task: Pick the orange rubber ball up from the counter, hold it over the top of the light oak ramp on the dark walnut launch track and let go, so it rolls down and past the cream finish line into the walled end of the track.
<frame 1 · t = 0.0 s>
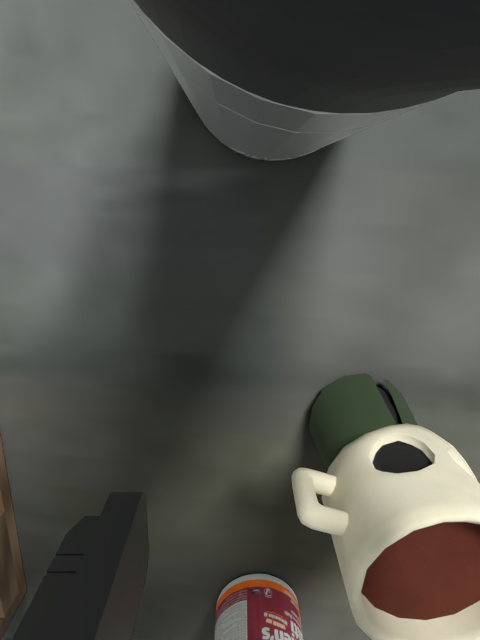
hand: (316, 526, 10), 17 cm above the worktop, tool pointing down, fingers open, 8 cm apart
pill bottle: (256, 599, 34), on the worktop
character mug: (354, 412, 29), on the worktop
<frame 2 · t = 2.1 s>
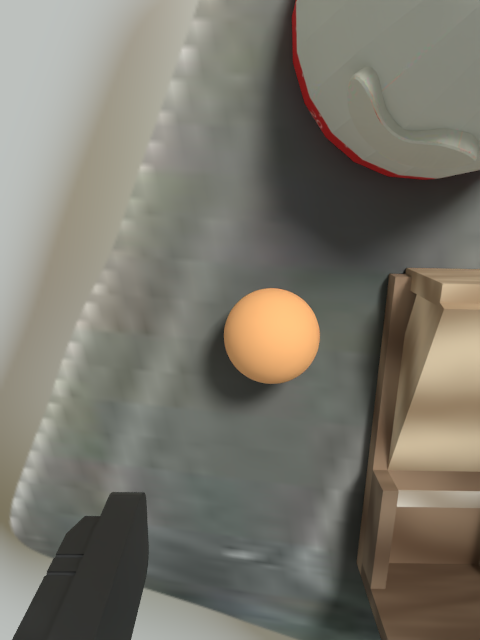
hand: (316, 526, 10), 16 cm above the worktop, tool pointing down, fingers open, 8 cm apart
launch track: (440, 433, 28), on the worktop
kitchen timer: (430, 33, 22), on the worktop
ball: (271, 335, 23), point 2 cm above the worktop
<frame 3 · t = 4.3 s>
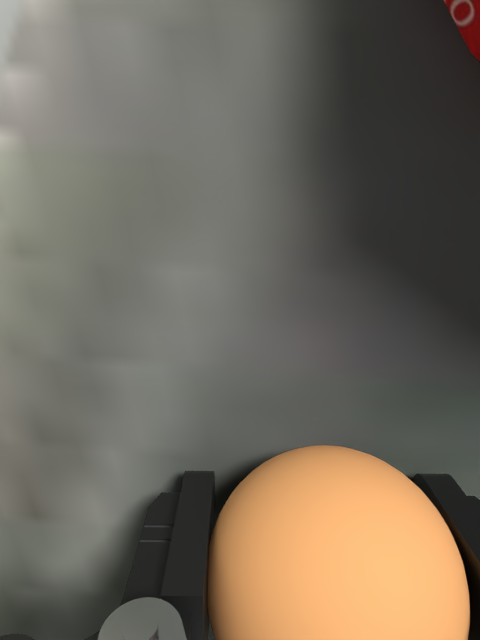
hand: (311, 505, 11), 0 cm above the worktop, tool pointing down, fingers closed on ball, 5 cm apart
ball: (329, 574, 9), point 2 cm above the worktop, touching gripper
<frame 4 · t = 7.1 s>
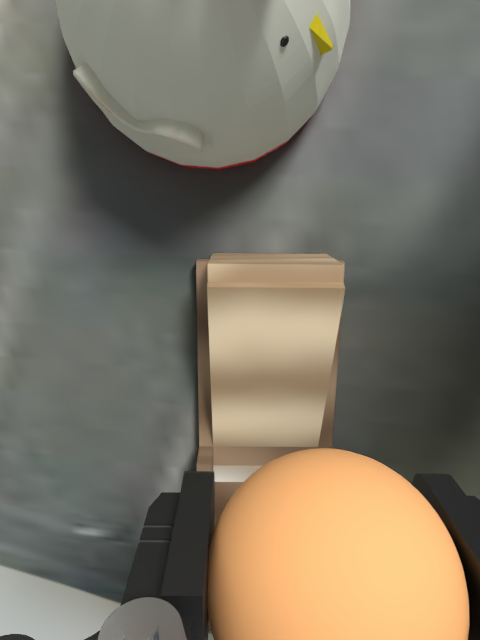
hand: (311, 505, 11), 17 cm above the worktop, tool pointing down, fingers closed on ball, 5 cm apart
launch track: (265, 411, 29), on the worktop
kitchen timer: (209, 33, 24), on the worktop
ball: (329, 577, 9), point 19 cm above the worktop, touching gripper
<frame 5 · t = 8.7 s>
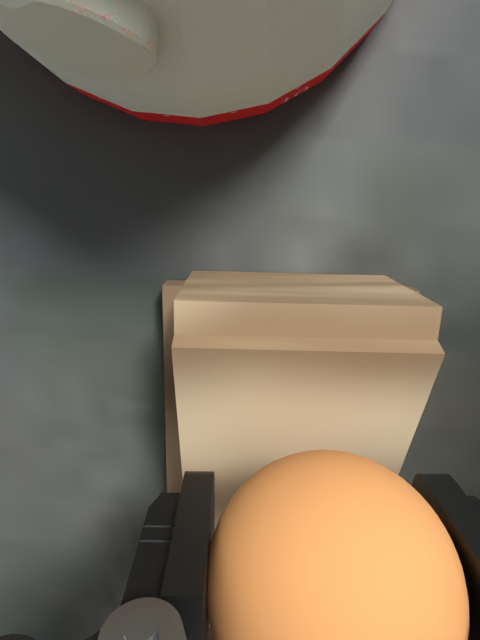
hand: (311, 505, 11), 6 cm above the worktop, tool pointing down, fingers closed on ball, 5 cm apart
launch track: (275, 519, 18), on the worktop
ball: (329, 579, 9), point 8 cm above the worktop, touching gripper
when the fingers open (5 cm above the worktop, at t = 9.7 s): ball drops 4 cm and tips over, resting on launch track.
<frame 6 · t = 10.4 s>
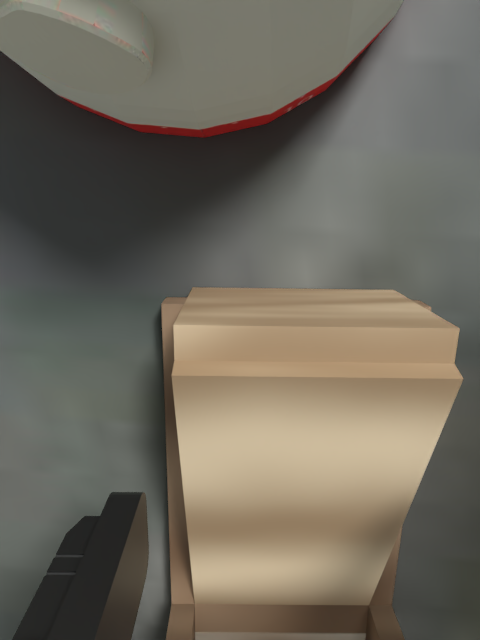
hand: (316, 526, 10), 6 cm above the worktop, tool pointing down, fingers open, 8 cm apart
launch track: (281, 542, 18), on the worktop
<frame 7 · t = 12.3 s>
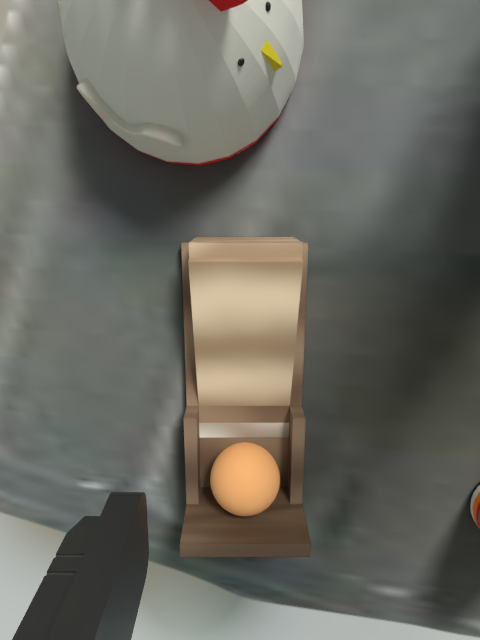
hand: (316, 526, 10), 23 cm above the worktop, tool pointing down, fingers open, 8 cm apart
launch track: (244, 375, 33), on the worktop
kitchen timer: (190, 50, 28), on the worktop
ball: (245, 478, 32), point 3 cm above the worktop, tilted 47°, touching launch track
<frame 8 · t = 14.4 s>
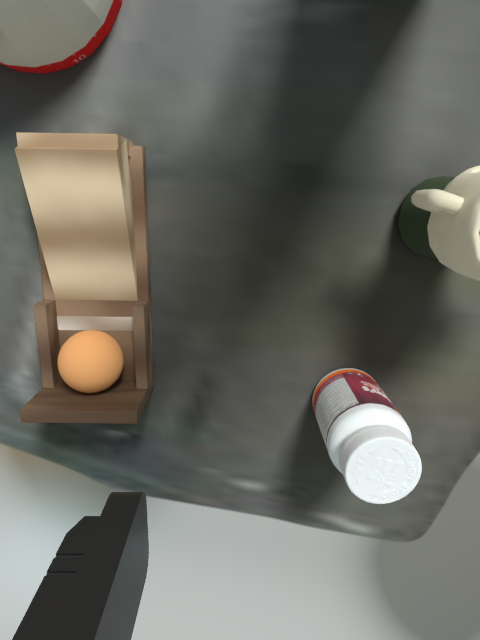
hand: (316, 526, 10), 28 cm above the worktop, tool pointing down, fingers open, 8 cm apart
launch track: (98, 274, 37), on the worktop
pill bottle: (344, 396, 40), on the worktop
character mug: (432, 217, 36), on the worktop
ball: (91, 361, 35), point 3 cm above the worktop, tilted 48°, touching launch track
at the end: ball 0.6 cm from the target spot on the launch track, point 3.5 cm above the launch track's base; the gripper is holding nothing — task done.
